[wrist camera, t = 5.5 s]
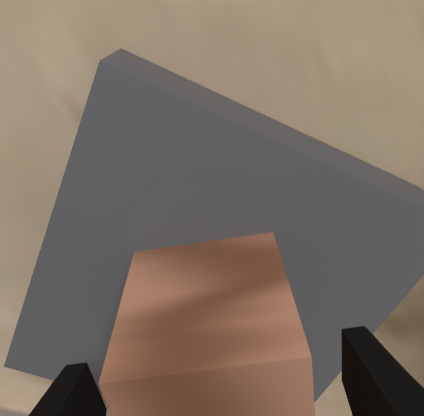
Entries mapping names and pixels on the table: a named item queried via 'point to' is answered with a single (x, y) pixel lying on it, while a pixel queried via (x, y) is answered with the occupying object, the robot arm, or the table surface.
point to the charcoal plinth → (211, 216)
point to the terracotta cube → (208, 334)
